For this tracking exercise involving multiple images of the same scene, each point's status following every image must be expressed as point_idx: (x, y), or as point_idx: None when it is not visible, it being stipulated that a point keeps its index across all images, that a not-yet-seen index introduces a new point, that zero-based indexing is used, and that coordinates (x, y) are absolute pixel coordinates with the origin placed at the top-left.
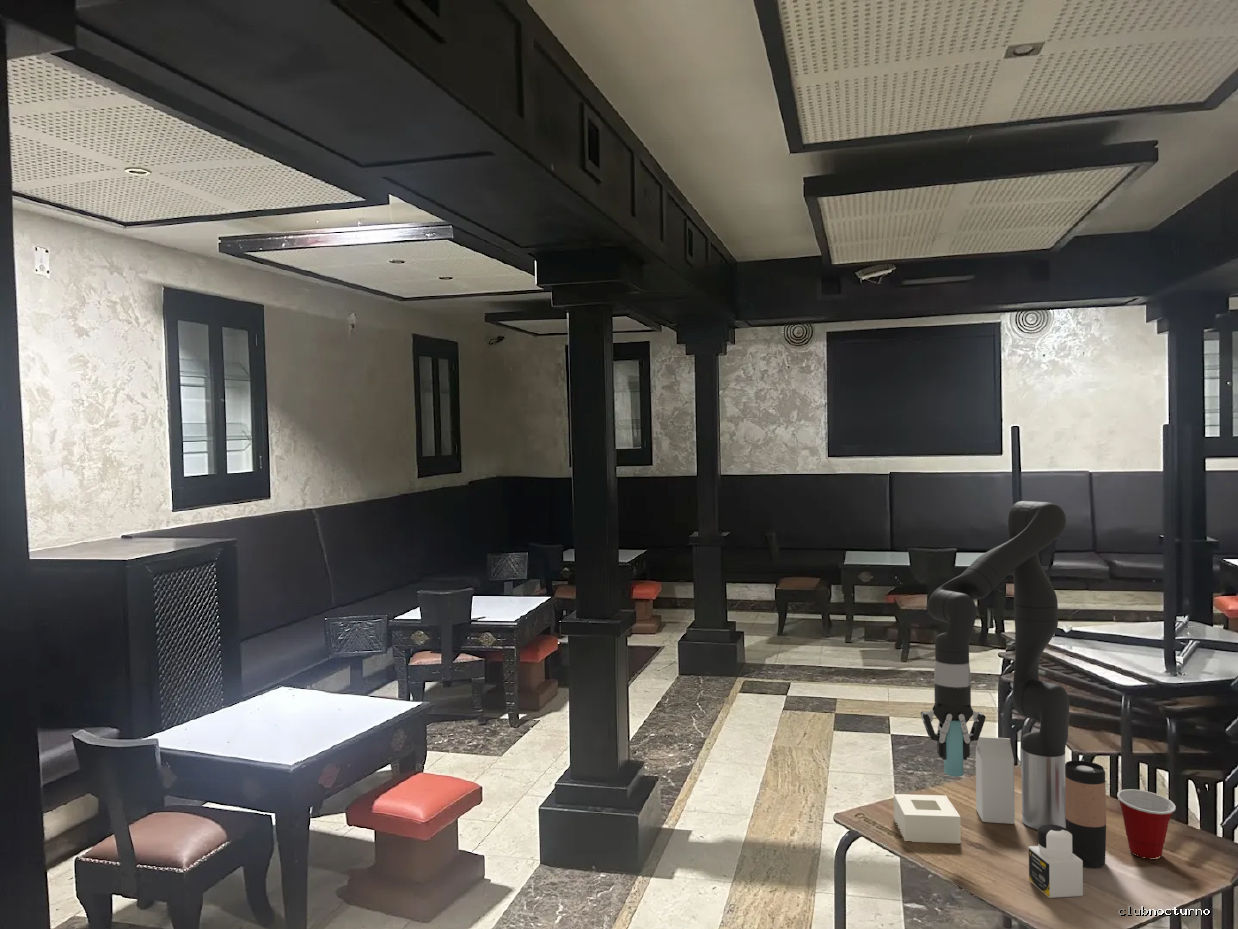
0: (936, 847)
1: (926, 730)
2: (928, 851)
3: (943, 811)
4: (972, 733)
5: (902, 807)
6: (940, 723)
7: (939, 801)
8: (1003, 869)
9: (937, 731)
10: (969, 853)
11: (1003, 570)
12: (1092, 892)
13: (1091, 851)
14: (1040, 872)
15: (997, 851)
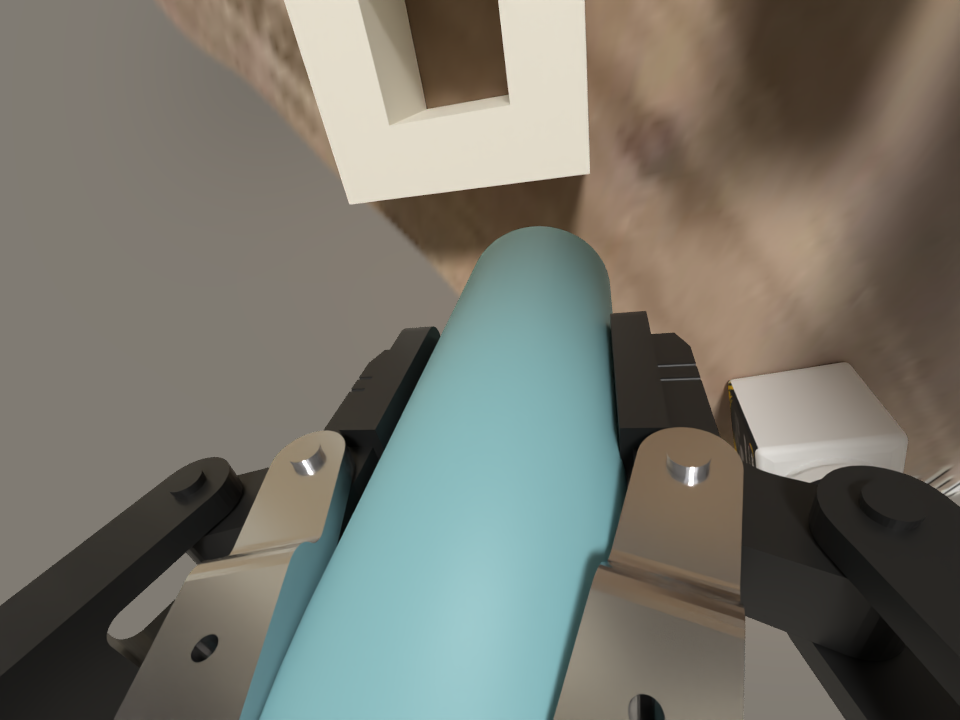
0: (494, 200)
1: (104, 537)
2: (466, 237)
3: (517, 122)
4: (857, 615)
5: (327, 115)
6: (190, 680)
7: None
8: (679, 322)
9: (244, 527)
10: (602, 227)
11: None
12: (893, 417)
13: None
14: (745, 461)
15: (719, 190)
